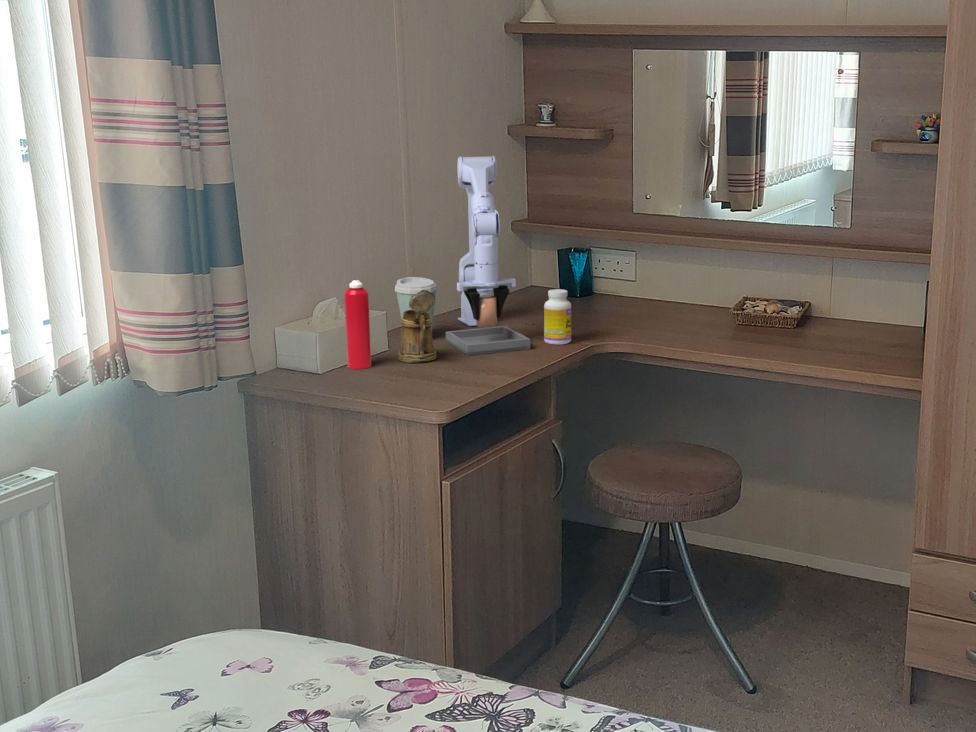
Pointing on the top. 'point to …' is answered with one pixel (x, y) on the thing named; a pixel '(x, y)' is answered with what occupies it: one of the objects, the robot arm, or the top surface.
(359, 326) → the bottle
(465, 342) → the gray tray
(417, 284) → the disposable coffee cup
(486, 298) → the terracotta cup
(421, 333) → the wooden mug
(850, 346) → the top surface
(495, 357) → the top surface
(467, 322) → the robot arm
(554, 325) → the supplement bottle
